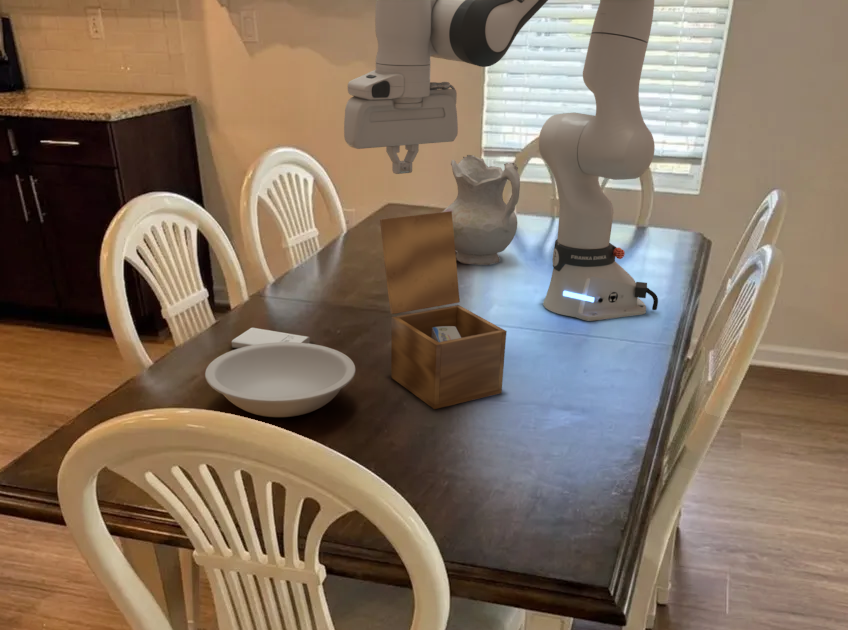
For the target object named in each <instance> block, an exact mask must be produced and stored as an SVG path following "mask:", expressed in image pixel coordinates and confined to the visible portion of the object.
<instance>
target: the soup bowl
mask: <svg viewBox="0 0 848 630" xmlns="http://www.w3.org/2000/svg"><path fill="white" fill-rule="evenodd" d="M204 372H205V373H204V377H205V381H206V382H207V384H208V385H209V386H210V387H211V388H212V389H213V390H214V391H216V392H217V393H219V394H221V395H223V396H224V397H225V398H226V400H228V401H229V402H230V403H231V404H233V405H234V406H236V407H237V408H239V409H240V410H243V411H245V412H247V413H250V414H253V415H256V416H261V417H266V418H267V417H268V418H290V417H291V418H292V417H297V416H302V415H306V414H309V413H313V412H314V411H316V410H318V409H320V408H322V407H324V406H326V405H327V404H328V403H330V402H332V400H333V399H334V398H336V396H338V394H339V393H340V391H341V390H342V389H343V388H345V387H346V386H348V385H349V384H350V383H351V382H352V381H353V379H354V377H355V375H356V365H355V362H354V361H353V360H352V359H351V358H350V357H349V356H348V355H346V354H344V353H343V352H341V351H339V350H337V349H334V348H331V347H328V346H324V345H319V344H314V343H309V344H308V343H298V342H275V343H264V344H257V345H251V346H246V347H242V348H239V349H238V348H234V349H232V350H230V351H227V352H225V353H223V354H221V355H219V356H218V357H216V358H214V359H213V360H212V361H211V362H210V363H209V364H208V365H207V366H206V369H205V371H204Z"/></svg>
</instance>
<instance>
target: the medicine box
mask: <svg viewBox="0 0 848 630" xmlns="http://www.w3.org/2000/svg"><path fill="white" fill-rule="evenodd" d="M431 338H432V339H434V340H435V341H437V342H443V341H448V340H453V339H458V338H461V336H460V334H459V332H458V330H457V328H456V327H455V326H440V327H433V328H432V335H431Z"/></svg>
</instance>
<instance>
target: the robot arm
mask: <svg viewBox="0 0 848 630" xmlns="http://www.w3.org/2000/svg"><path fill="white" fill-rule="evenodd" d="M548 1H549V0H375V6H374V7H375V9H374V10H375V12H374V13H375V15H374V18H375V19H374V22H375V23H374V26H375V27H374V29H375V30H374V33H375V36H376V40H377V52H376V55H375V69H374V70H371V71H369V72H367V73H365V74H362V75H361V76H358V77H356V78H353V79H351V80H349V81H348V83H347V93H348V95H349V96H352V97H350V98H349V99H348V100H347V102H346V105H345V109H344V118H343V119H344V122H343V125H344V126H343V136H344V141H345V143H346V144H347V146H349V147H351V148H353V149H357V150H361V149H376V148H385V151H386V154H387V156H388V157H389V159H390V161H391V163H392V167H391V168H392V173H393V174H395V175H400V174H411V173H412V172H413V162H414V161H415V159H416V157H417V155H418V153H419V150H420V149H419V147H420V145H425V144H439V143H452V142H454V141H455V140H456V139H457V136H458V132H459V131H458V130H459V127H458V125H459V124H458V111H457V99H458V98H457V96H458V95H457V94H458V93H457V89H456V88H455V86H454V85H452V84H450V82H449V81H440V82H436V81H431V64H432V63H431V62H432V61H431V57H432V58H437V59H443V60H448V61H455V62H460V63H461V62H462V63H467V64H470V65H474V66H477V67H480V68H487V67H491V66H493V65H496V64H497V63H498V62H499V61H501V60H502V59H503V58H504V57H505V55H506V54H507V52H508V51H509V49H510V48H511V46H512V44H513V42H514V40H515V39H516V37H517V35H518V34H519V33H520V31H521V30H522V29H523V27H524V26H525V25H526V24H528V22H529V21H530V20H531V19H532V17H534V16H535V15H536V14H537V13H538V12H539V10H540V9H541V8H543V6H544V5H546V3H547V2H548ZM654 10H655V0H599V4H598V7H597V11H596V13H595V16H594V20H593V25H592V29H591V33H590V38H589V42H588V47H587V50H586V55H585V60H584V65H583V69H582V80H583V83H584V85H585V86H586V88H587V89H588V90H589V91H590V92H591V93H592V94H593V96H594V99H595V115H592V114H587V113H581V112H563V113H558V114H552V115H551V116H550V117H548V118H547V119H546V121H545V122H544V123H543V125H542V126H541V129H540V131H539V136H538V150H539V154H540V156H541V158H542V159H543V161H544V162H545V163H546V164H547V166H548V167H549V170H550V171H551V173H552V175H553V179H554V181H555V185H556V188H557V193H558V202H559V214H558V227H557V239H556V240H555V241H554V248H553V252H552V273H551V278H550V282H549V285H548V289H547V292H546V296H545V298H544V299H543V302H542V305H543V307H544V308H545V309H546V310H548V311H550V312H552V313H554V314H558V315H562V316H567V317H573V318H577V319H580V320H583V321H586V322H594V321H601V320H610V319H617V318H618V319H619V318H624V317H634V316H641V315H642V316H643V315H645V314H646V313H647V305H646V303H645V302H644V301H643V300H642V299H646V297H647V294H648V295H649V296H650V297H651V298H652V300H653V303H652V307H651V310H652V311H656V310H657V309H658V303H659V298H658V295H657V294H656V292H654V291H653V290H652V289H650V288H649V287H648V282H643V281H636V280H635V279H634V278H633V276H631V275H630V273H628V271H626V269H625V268H623V267H622V266H621V265H620V264H619V263H618V262H617V261H616V259H619V260H621V259H623V258H624V257H625V255H626V252H625V250H624V249H622V248H621V247H619V246H618V247H617V246H615V245H614V244H612V243H611V242H610V241H611V235H612V227H613V220H614V213H615V212H614V205H613V203H612V200H610V198H609V197H608V196H607V195H606V194H605V193H604V191H603V190H602V187H601V184H600V181H599V178H605V179H609V180H613V181H615V180H616V181H618V180H619V181H621V180H635V179H639V178H640V177H642V176H643V175H644V174H645V173H646V171H647V170H648V169H649V168H650V166H651V164H652V162H653V159H654V156H655V151H656V150H655V140H654V137H653V134H652V132H651V130H650V129H649V128H648V126H647V125H646V122H645V121H644V119H643V115H642V111H641V106H640V96H639V95H640V94H639V92H640V83H641V76H642V73H643V72H642V71H643V67H644V62H645V58H646V53H647V49H648V44H649V40H650V36H651V30H652V24H653V18H654ZM401 146H404V148H405V150H406V151H407V152H406V153H405V156H404V158H403V160H400V158H399V155H398V154H399V153H400V151H401Z"/></svg>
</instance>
